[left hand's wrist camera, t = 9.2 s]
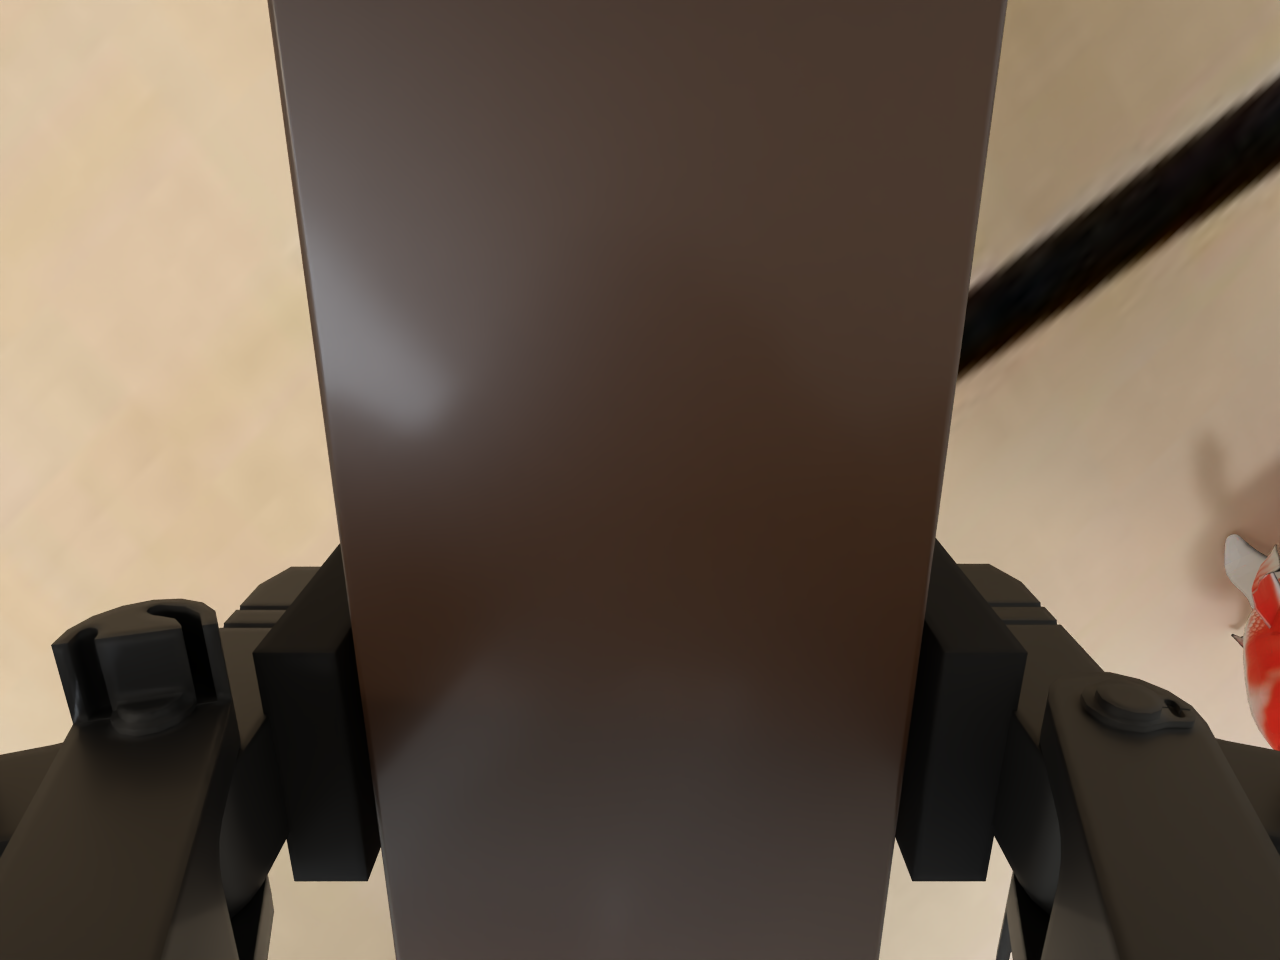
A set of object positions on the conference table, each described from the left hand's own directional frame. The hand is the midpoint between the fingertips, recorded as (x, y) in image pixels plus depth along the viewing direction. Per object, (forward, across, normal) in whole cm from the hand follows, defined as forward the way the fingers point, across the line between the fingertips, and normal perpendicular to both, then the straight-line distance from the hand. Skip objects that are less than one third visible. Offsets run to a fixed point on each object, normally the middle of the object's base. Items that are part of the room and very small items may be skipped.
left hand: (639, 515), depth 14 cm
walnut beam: (+1, 0, -8) cm, 9 cm away
